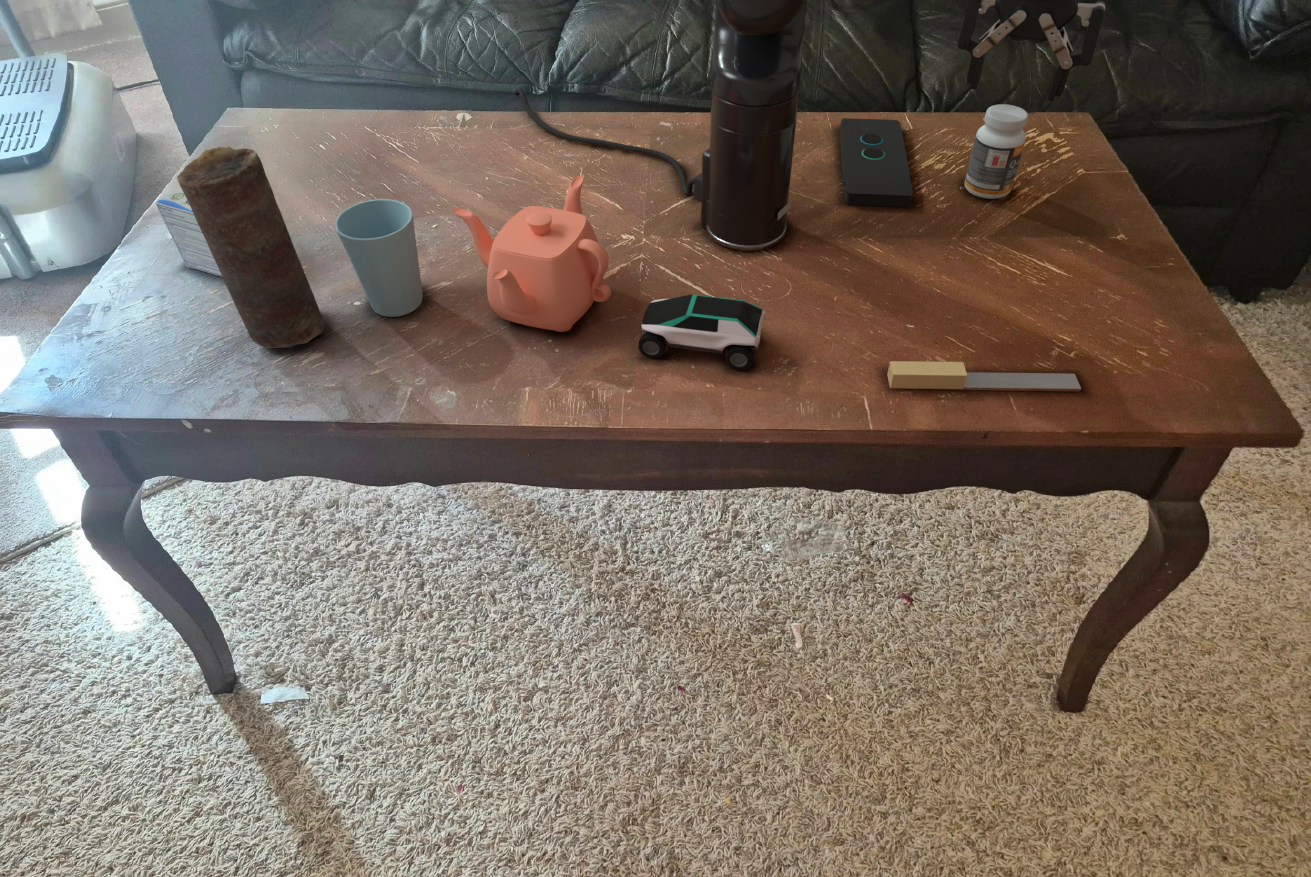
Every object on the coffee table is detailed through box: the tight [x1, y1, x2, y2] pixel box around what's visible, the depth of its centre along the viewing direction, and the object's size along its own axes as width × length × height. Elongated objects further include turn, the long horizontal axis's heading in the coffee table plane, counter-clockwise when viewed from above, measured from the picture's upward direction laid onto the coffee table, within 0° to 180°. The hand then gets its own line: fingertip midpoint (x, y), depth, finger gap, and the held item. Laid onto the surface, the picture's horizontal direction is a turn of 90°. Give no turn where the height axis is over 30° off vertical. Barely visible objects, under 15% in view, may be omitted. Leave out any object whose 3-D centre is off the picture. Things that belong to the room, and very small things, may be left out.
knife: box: [886, 360, 1082, 393], centre depth 84 cm, size 18×2×2 cm, turn 88°
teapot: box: [451, 174, 612, 333], centre depth 91 cm, size 14×14×11 cm
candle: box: [176, 146, 326, 349], centre depth 85 cm, size 8×7×20 cm
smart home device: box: [839, 117, 914, 208], centre depth 114 cm, size 8×2×20 cm
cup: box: [334, 198, 423, 318], centre depth 92 cm, size 8×8×10 cm
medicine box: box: [155, 185, 223, 278], centre depth 98 cm, size 8×4×9 cm, turn 65°
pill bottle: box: [964, 103, 1029, 200], centre depth 107 cm, size 6×6×10 cm
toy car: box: [637, 293, 766, 371], centre depth 88 cm, size 6×12×5 cm, turn 77°
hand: (1012, 92), depth 102 cm, fingers open, 8 cm apart
